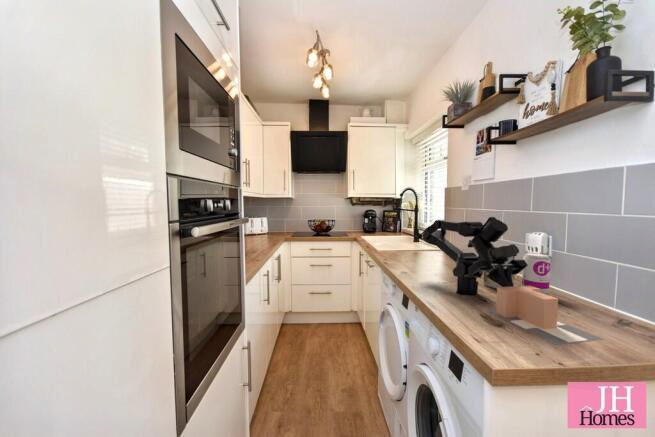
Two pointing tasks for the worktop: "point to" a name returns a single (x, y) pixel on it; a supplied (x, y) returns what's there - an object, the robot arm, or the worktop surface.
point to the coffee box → (490, 282)
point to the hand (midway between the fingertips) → (512, 291)
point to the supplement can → (537, 272)
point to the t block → (527, 305)
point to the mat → (552, 331)
